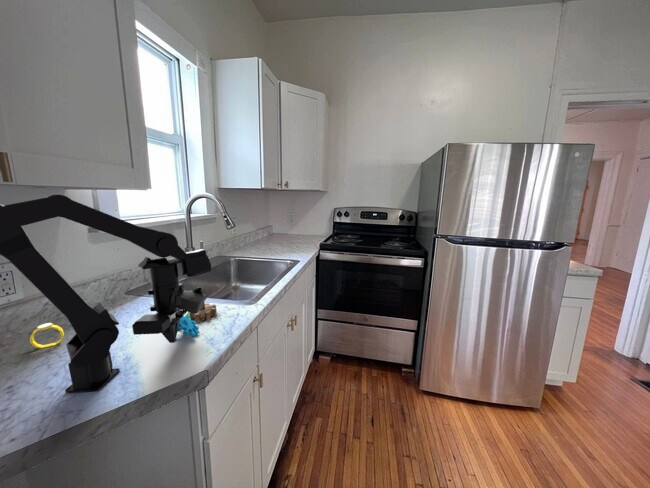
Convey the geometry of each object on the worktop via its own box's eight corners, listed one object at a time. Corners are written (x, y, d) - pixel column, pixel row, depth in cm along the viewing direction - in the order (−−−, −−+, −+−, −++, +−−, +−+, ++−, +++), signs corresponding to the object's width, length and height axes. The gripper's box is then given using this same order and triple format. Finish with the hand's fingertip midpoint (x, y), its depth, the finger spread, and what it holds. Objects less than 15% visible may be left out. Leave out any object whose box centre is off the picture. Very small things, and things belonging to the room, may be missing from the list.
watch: (32, 353, 67) (25, 331, 65) (36, 348, 69) (28, 327, 68) (64, 343, 70) (58, 323, 69) (67, 339, 72) (60, 319, 71)
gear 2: (211, 321, 82) (209, 301, 81) (183, 322, 81) (180, 302, 80) (220, 309, 90) (219, 291, 89) (194, 310, 90) (192, 292, 89)
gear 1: (196, 337, 69) (164, 314, 68) (179, 355, 69) (147, 332, 67) (205, 323, 80) (178, 303, 78) (191, 339, 79) (163, 318, 78)
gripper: (181, 296, 55) (188, 363, 58) (213, 271, 74) (217, 323, 76) (126, 297, 55) (136, 366, 57) (172, 272, 73) (178, 325, 76)
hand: (172, 342), depth 67 cm, fingers closed
